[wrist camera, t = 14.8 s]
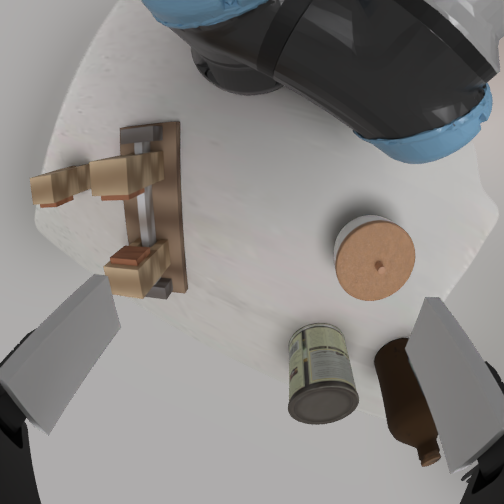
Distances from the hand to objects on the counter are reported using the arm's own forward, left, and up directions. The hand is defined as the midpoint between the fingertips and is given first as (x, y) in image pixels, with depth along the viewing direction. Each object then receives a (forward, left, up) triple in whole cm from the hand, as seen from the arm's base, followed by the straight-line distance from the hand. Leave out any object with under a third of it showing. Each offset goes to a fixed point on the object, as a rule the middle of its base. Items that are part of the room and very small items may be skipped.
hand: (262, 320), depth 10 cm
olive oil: (+30, +26, -29) cm, 49 cm away
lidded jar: (+7, +13, -29) cm, 32 cm away
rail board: (+4, -18, -29) cm, 34 cm away
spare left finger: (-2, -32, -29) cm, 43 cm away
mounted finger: (-3, -18, -27) cm, 33 cm away
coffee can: (+27, +9, -29) cm, 41 cm away
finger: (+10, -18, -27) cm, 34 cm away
